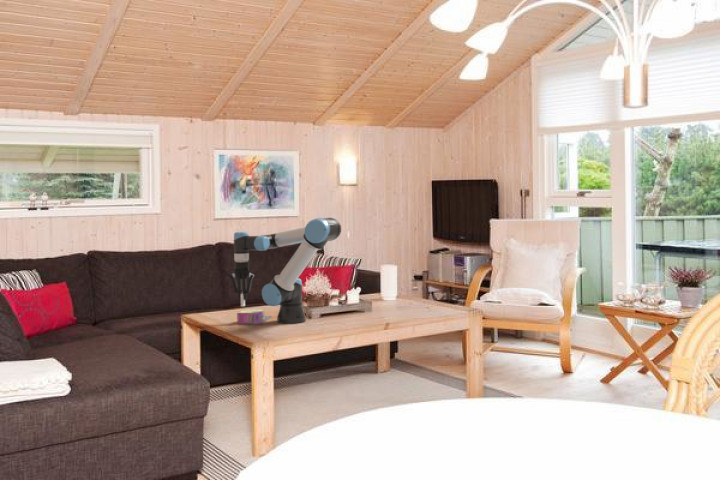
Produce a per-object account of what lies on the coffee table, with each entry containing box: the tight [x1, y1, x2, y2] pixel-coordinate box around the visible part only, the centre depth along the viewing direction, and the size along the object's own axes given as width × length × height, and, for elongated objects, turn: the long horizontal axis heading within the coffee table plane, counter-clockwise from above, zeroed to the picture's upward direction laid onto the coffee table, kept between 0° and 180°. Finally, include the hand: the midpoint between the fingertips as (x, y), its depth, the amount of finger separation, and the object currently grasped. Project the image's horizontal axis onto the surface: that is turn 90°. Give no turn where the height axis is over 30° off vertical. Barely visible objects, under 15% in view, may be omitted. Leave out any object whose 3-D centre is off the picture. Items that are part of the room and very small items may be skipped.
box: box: [236, 309, 266, 324], centre depth 386 cm, size 10×6×12 cm
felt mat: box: [238, 315, 273, 325], centre depth 393 cm, size 11×24×1 cm, turn 171°
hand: (243, 305), depth 387 cm, fingers closed
